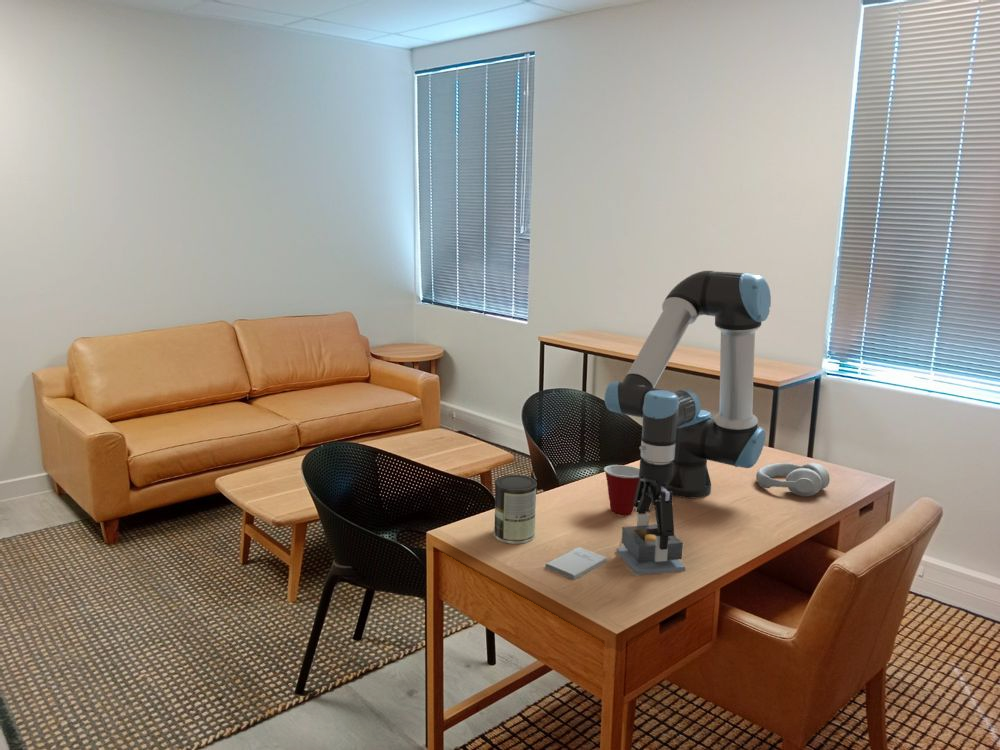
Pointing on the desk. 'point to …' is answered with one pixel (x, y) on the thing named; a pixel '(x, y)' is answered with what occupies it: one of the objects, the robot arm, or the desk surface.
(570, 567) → the external hard drive
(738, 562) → the desk surface
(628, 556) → the keeper
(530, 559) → the desk surface
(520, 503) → the coffee can
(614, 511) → the plastic cup
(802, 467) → the headphones
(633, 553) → the gray square socket block
